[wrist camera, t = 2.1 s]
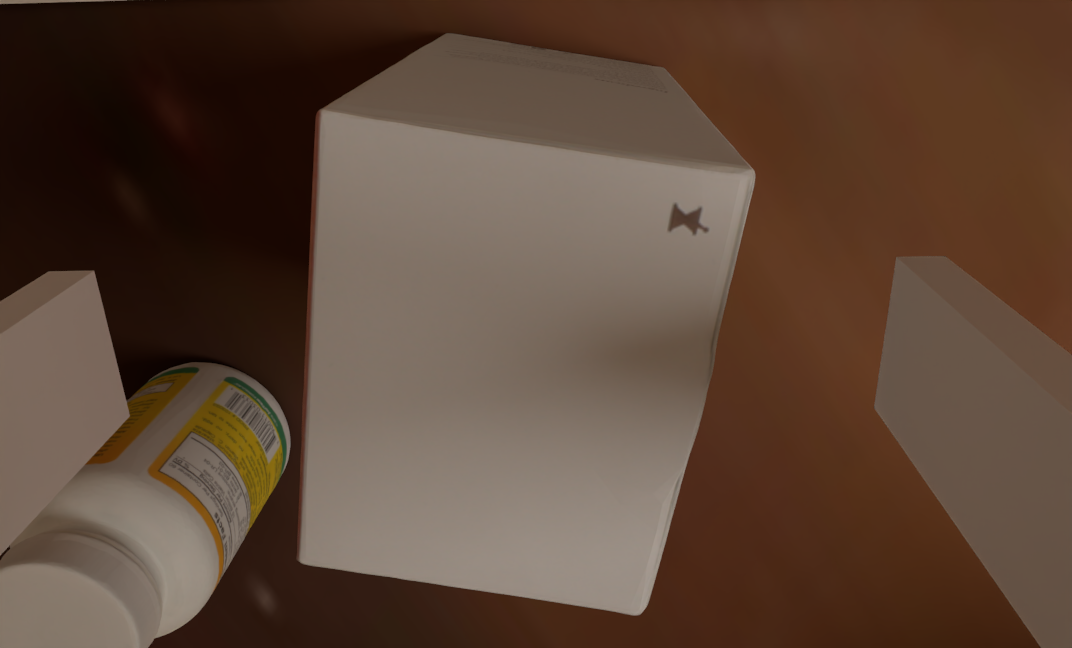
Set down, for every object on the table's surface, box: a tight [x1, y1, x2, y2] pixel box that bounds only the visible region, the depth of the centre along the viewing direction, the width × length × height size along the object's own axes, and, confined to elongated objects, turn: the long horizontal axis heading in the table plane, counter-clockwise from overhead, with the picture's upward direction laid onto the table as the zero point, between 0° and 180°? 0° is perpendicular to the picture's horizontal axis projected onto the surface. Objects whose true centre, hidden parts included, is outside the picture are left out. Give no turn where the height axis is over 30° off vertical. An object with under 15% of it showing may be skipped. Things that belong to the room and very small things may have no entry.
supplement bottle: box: [0, 362, 290, 648], centre depth 24 cm, size 5×5×10 cm
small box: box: [297, 33, 755, 615], centre depth 19 cm, size 8×6×13 cm
